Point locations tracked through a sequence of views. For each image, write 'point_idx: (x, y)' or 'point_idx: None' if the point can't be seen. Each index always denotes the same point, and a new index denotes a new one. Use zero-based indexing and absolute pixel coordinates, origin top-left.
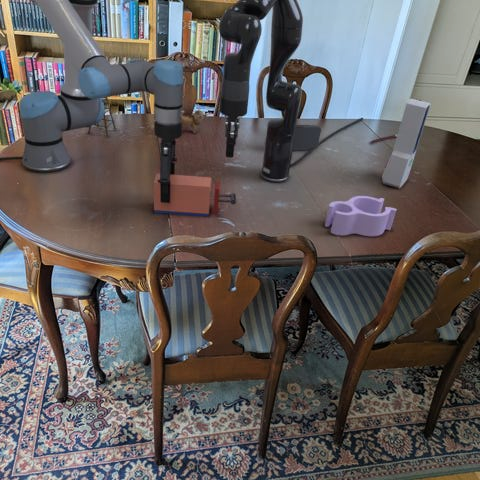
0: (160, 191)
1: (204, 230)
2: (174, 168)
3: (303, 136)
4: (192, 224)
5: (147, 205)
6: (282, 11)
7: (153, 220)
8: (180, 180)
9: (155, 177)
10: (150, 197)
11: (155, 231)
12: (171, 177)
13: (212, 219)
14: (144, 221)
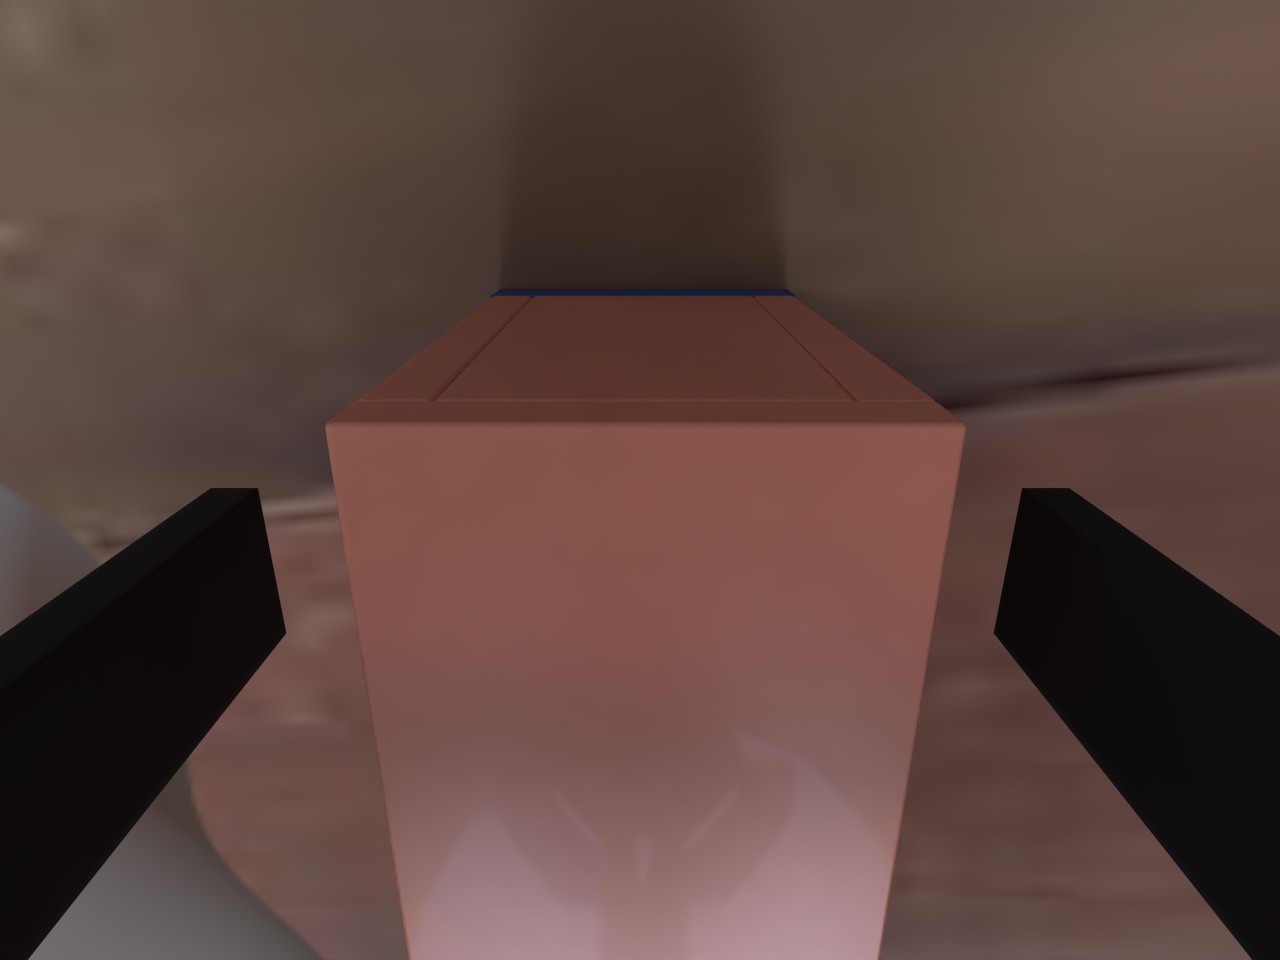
0: (59, 597)
1: (260, 825)
2: (1182, 869)
3: None
4: (340, 725)
5: (694, 166)
6: None
7: (303, 309)
8: (613, 956)
9: (680, 428)
10: (946, 176)
11: (55, 367)
12: (739, 794)
13: None
14: (242, 190)
